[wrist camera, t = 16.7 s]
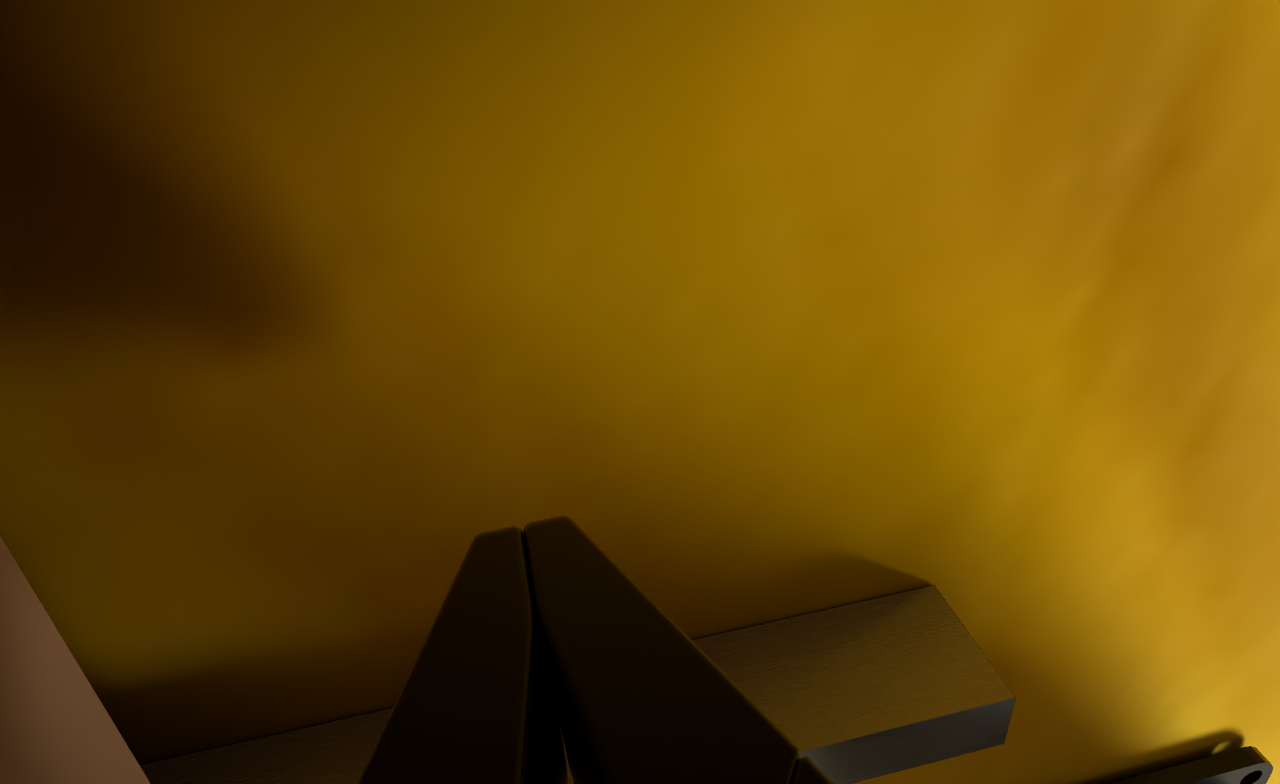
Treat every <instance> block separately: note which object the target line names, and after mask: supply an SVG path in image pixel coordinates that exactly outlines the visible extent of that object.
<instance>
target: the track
mask: <svg viewBox="0 0 1280 784" xmlns="http://www.w3.org/2000/svg"><path fill="white" fill-rule="evenodd" d="M692 641H693V642H694V643H695V644H696V645H697V646H698V647H699V648H700V649H701V650H702V651H703V652H704V653H705V654H706V655H707V656H708V657H709V658H710V659H711V660H712V661H713V662H714V663H715V664H716V665H717V666H718V667H719V668H720V669H721V670H722V671H723V672H724V673H725V674H726V675H727V676H728V677H729V678H730V679H731V680H732V681H733V682H734V683H735V684H736V685H737V686H738V687H739V688H740V689H741V690H742V691H743V692H744V693H745V694H746V695H747V696H748V697H749V698H750V699H751V701H752V702H753V703H754V704H755V705H756V706H757V707H758V708H759V709H760V710H761V711H762V712H763V713H764V714H765V715H766V716H767V717H768V718H769V719H770V720H771V721H772V722H773V723H774V724H775V725H776V726H777V727H778V728H779V729H780V730H781V731H782V732H783V733H784V734H785V735H786V736H787V737H788V738H789V739H790V740H791V741H792V742H793V743H794V744H795V745H796V746H797V747H798V748H799V749H800V751H801V758H802V757H808V758H810V759H811V760H812V761H813V762H814V763H815V764H816V765H817V766H818V767H819V768H820V769H821V770H822V771H823V772H824V774H825V775H826V776H827V777H828V778H829V779H830V780H831V781H832V782H833V783H834V784H851V783H855V782H859V781H863V780H867V779H870V778H874V777H878V776H882V775H886V774H890V773H893V772H897V771H901V770H905V769H909V768H913V767H916V766H920V765H924V764H928V763H932V762H936V761H940V760H943V759H947V758H951V757H955V756H959V755H963V754H966V753H970V752H974V751H978V750H982V749H986V748H989V747H993V746H997V745H1001V744H1004V742H1005V738H1006V734H1007V730H1008V726H1009V722H1010V718H1011V714H1012V710H1013V706H1014V702H1015V696H1014V695H1013V694H1012V692H1011V691H1010V689H1009V688H1008V687H1007V685H1006V684H1005V682H1004V681H1003V680H1002V678H1001V677H1000V675H999V674H998V673H997V671H996V670H995V669H994V667H993V666H992V664H991V663H990V662H989V660H988V659H987V657H986V656H985V655H984V653H983V652H982V650H981V649H980V648H979V646H978V645H977V644H976V642H975V641H974V639H973V638H972V637H971V635H970V634H969V632H968V631H967V630H966V628H965V627H964V625H963V624H962V623H961V621H960V620H959V619H958V617H957V616H956V614H955V613H954V612H953V610H952V609H951V607H950V606H949V605H948V603H947V602H946V600H945V599H944V598H943V596H942V595H941V594H940V592H939V591H938V589H937V588H936V587H935V585H933V586H928V587H924V588H920V589H915V590H911V591H906V592H902V593H898V594H893V595H889V596H884V597H880V598H875V599H871V600H867V601H862V602H858V603H853V604H849V605H845V606H840V607H836V608H831V609H827V610H823V611H818V612H814V613H809V614H805V615H801V616H796V617H792V618H787V619H783V620H779V621H774V622H770V623H765V624H761V625H756V626H752V627H748V628H743V629H739V630H734V631H730V632H726V633H721V634H717V635H712V636H708V637H704V638H699V639H695V640H692ZM392 709H393V708H391V709H386V710H382V711H377V712H373V713H369V714H364V715H360V716H355V717H351V718H347V719H342V720H338V721H333V722H329V723H325V724H320V725H316V726H311V727H307V728H302V729H298V730H294V731H289V732H285V733H280V734H276V735H272V736H267V737H263V738H258V739H254V740H250V741H245V742H241V743H236V744H232V745H228V746H223V747H219V748H214V749H210V750H205V751H201V752H197V753H192V754H188V755H183V756H179V757H175V758H170V759H166V760H161V761H157V762H153V763H148V764H144V765H139V766H140V767H141V769H142V771H143V772H144V774H145V775H146V777H147V779H148V780H149V782H150V784H357V783H358V781H359V779H360V777H361V774H362V772H363V770H364V768H365V766H366V764H367V762H368V760H369V758H370V755H371V753H372V751H373V749H374V747H375V745H376V743H377V741H378V739H379V737H380V734H381V732H382V730H383V728H384V726H385V724H386V722H387V720H388V718H389V716H390V713H391V711H392ZM560 727H561V726H560ZM561 733H562V731H561ZM562 738H563V736H562ZM563 744H564V741H563ZM564 751H565V758H566V764H567V773H568V784H574V783H573V779H572V776H571V772H570V769H569V764H568V759H567V755H566V750H565V745H564Z"/></svg>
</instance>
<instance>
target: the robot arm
mask: <svg viewBox="0 0 1280 784" xmlns="http://www.w3.org/2000/svg"><path fill="white" fill-rule="evenodd" d="M560 726H561V727H560ZM561 731H562V733H561ZM562 736H563V738H562ZM563 741H564V744H563ZM564 745H565V750H566V755H567V759H568V764H569V769H570V772H571V776H572V779H573V783H574V784H834V783H833V782H832V781H831V780H830V779H829V778H828V777H827V776H826V775H825V774H824V772H823V771H822V770H821V769H820V768H819V767H818V766H817V765H816V764H815V763H814V762H813V761H812V760H811V759H810V758H808V757H802V758H801V751H800V749H799V748H798V747H797V746H796V745H795V744H794V743H793V742H792V741H791V740H790V739H789V738H788V737H787V736H786V735H785V734H784V733H783V732H782V731H781V730H780V729H779V728H778V727H777V726H776V725H775V724H774V723H773V722H772V721H771V720H770V719H769V718H768V717H767V716H766V715H765V714H764V713H763V712H762V711H761V710H760V709H759V708H758V707H757V706H756V705H755V704H754V703H753V702H752V701H751V699H750V698H749V697H748V696H747V695H746V694H745V693H744V692H743V691H742V690H741V689H740V688H739V687H738V686H737V685H736V684H735V683H734V682H733V681H732V680H731V679H730V678H729V677H728V676H727V675H726V674H725V673H724V672H723V671H722V670H721V669H720V668H719V667H718V666H717V665H716V664H715V663H714V662H713V661H712V660H711V659H710V658H709V657H708V656H707V655H706V654H705V653H704V652H703V651H702V650H701V649H700V648H699V647H698V646H697V645H696V644H695V643H694V642H693V641H692V640H691V639H690V638H689V637H688V636H687V635H686V634H685V633H684V632H683V631H682V630H681V629H680V628H679V627H678V626H677V625H676V624H675V623H674V622H673V621H672V620H671V619H670V618H669V617H668V616H667V615H666V614H665V613H664V612H663V611H662V610H661V609H660V608H659V607H658V606H657V605H656V604H655V603H654V602H653V601H652V600H651V599H650V598H649V597H648V596H647V595H646V594H645V593H644V592H643V591H642V590H641V589H640V588H639V587H638V586H637V585H636V583H635V582H634V581H633V580H632V579H631V578H630V577H629V576H628V575H627V574H626V573H625V572H624V571H623V570H622V569H621V568H620V567H619V566H618V565H617V564H616V563H615V562H614V561H613V560H612V559H611V558H610V557H609V556H608V555H607V554H606V553H605V552H604V551H603V550H602V549H601V548H600V547H599V546H598V545H597V544H596V543H595V542H594V541H593V540H592V539H591V538H590V537H589V536H588V535H587V534H586V533H585V532H584V531H583V530H582V529H581V528H580V527H579V526H578V525H577V524H576V523H575V522H574V521H573V520H572V519H571V518H569V517H566V516H559V517H555V518H550V519H545V520H541V521H536V522H531V523H528V524H527V525H526V526H525V528H524V534H523V531H522V530H521V529H520V528H519V527H517V526H512V527H507V528H503V529H498V530H493V531H488V532H484V533H480V534H478V535H477V536H476V537H475V538H474V539H473V541H472V543H471V545H470V547H469V549H468V552H467V554H466V556H465V558H464V560H463V562H462V564H461V566H460V568H459V570H458V573H457V575H456V577H455V579H454V581H453V583H452V585H451V587H450V589H449V591H448V594H447V596H446V598H445V600H444V602H443V604H442V606H441V608H440V610H439V613H438V615H437V617H436V619H435V621H434V623H433V625H432V627H431V629H430V631H429V634H428V636H427V638H426V640H425V642H424V644H423V646H422V648H421V650H420V652H419V655H418V657H417V659H416V661H415V663H414V665H413V667H412V669H411V671H410V673H409V676H408V678H407V680H406V682H405V684H404V686H403V688H402V690H401V692H400V695H399V697H398V699H397V701H396V703H395V705H394V707H393V709H392V711H391V713H390V716H389V718H388V720H387V722H386V724H385V726H384V728H383V730H382V732H381V734H380V737H379V739H378V741H377V743H376V745H375V747H374V749H373V751H372V753H371V755H370V758H369V760H368V762H367V764H366V766H365V768H364V770H363V772H362V774H361V777H360V779H359V781H358V783H357V784H568V773H567V764H566V758H565V751H564ZM1272 770H1273V766H1272V765H1271V763H1270V762H1269V761H1268V760H1267V759H1266V758H1265V757H1264V756H1263V755H1262V754H1261V753H1260V752H1259V751H1258V750H1257V748H1255V747H1252V746H1249V747H1242V748H1239V749H1235V750H1231V751H1228V752H1224V753H1220V754H1217V755H1213V756H1210V757H1206V758H1202V759H1199V760H1195V761H1191V762H1188V763H1184V764H1180V765H1177V766H1173V767H1169V768H1166V769H1162V770H1158V771H1155V772H1151V773H1147V774H1144V775H1140V776H1136V777H1133V778H1129V779H1126V780H1122V781H1118V782H1115V783H1111V784H1266V783H1267V781H1268V779H1269V777H1270V775H1271V773H1272Z"/></svg>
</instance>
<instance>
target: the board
mask: <svg viewBox="0 0 1280 784" xmlns="http://www.w3.org/2000/svg"><path fill="white" fill-rule="evenodd" d="M0 784H150V782H149V780H148V779H147V777H146V775H145V774H144V772H143V771H142V769H141V767H140V766H139V764H138V762H137V761H136V759H135V757H134V756H133V754H132V752H131V751H130V749H129V747H128V746H127V744H126V742H125V741H124V739H123V737H122V736H121V734H120V733H119V731H118V729H117V728H116V726H115V724H114V723H113V721H112V719H111V718H110V716H109V714H108V713H107V711H106V709H105V708H104V706H103V704H102V703H101V701H100V700H99V698H98V696H97V695H96V693H95V691H94V690H93V688H92V686H91V685H90V683H89V681H88V680H87V678H86V676H85V675H84V673H83V671H82V670H81V668H80V666H79V665H78V663H77V662H76V660H75V658H74V657H73V655H72V653H71V652H70V650H69V648H68V647H67V645H66V643H65V642H64V640H63V638H62V637H61V635H60V633H59V632H58V630H57V629H56V627H55V625H54V624H53V622H52V620H51V619H50V617H49V615H48V614H47V612H46V610H45V609H44V607H43V605H42V604H41V602H40V600H39V599H38V597H37V596H36V594H35V592H34V591H33V589H32V587H31V586H30V584H29V582H28V581H27V579H26V577H25V576H24V574H23V572H22V571H21V569H20V567H19V566H18V564H17V562H16V561H15V559H14V558H13V556H12V554H11V553H10V551H9V549H8V548H7V546H6V544H5V543H4V541H3V539H2V538H1V536H0Z"/></svg>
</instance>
